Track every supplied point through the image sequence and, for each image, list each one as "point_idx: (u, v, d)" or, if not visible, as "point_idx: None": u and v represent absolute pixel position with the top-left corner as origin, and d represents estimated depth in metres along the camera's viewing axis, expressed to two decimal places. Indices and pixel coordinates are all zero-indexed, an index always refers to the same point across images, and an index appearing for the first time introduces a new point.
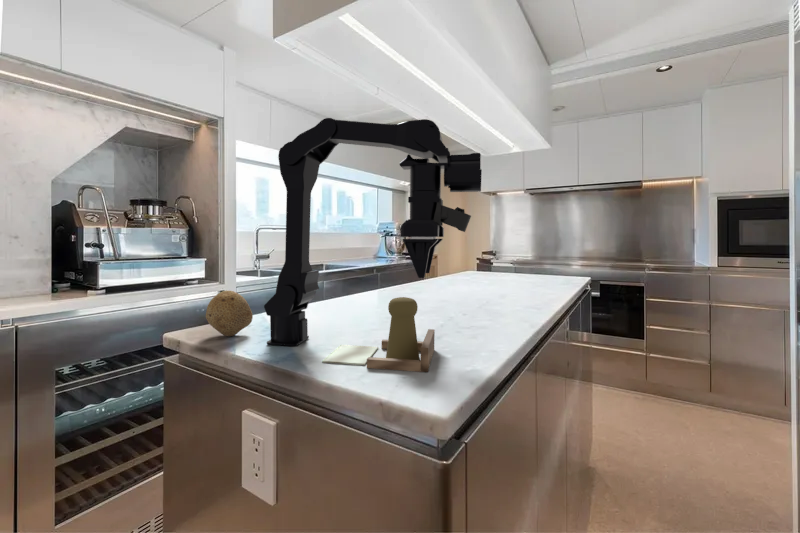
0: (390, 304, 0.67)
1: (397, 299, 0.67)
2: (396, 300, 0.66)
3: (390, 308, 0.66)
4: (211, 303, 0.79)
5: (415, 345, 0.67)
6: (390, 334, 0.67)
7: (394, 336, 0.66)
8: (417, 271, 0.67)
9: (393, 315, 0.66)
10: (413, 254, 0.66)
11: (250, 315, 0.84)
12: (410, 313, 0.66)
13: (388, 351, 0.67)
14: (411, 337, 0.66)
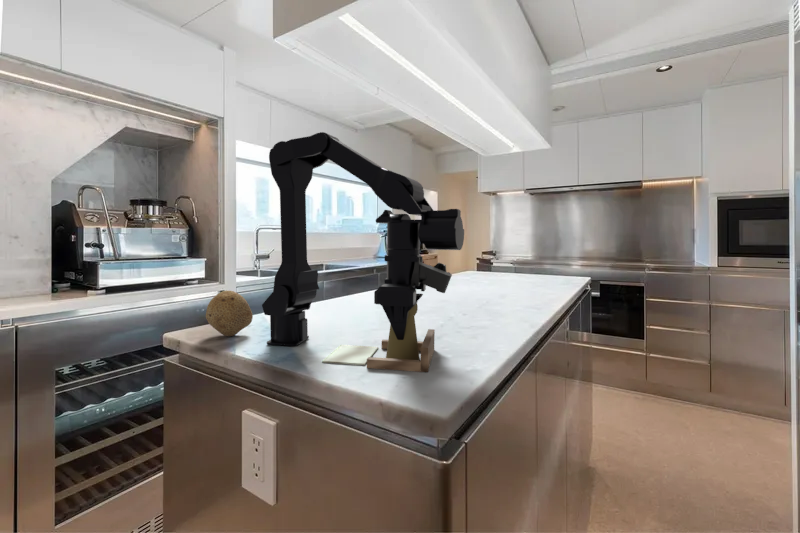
0: None
1: None
2: None
3: None
4: (211, 303, 0.79)
5: (415, 345, 0.67)
6: (390, 334, 0.67)
7: (394, 336, 0.66)
8: (396, 333, 0.65)
9: None
10: (391, 316, 0.64)
11: (250, 315, 0.84)
12: (410, 313, 0.66)
13: (388, 351, 0.67)
14: (411, 337, 0.66)
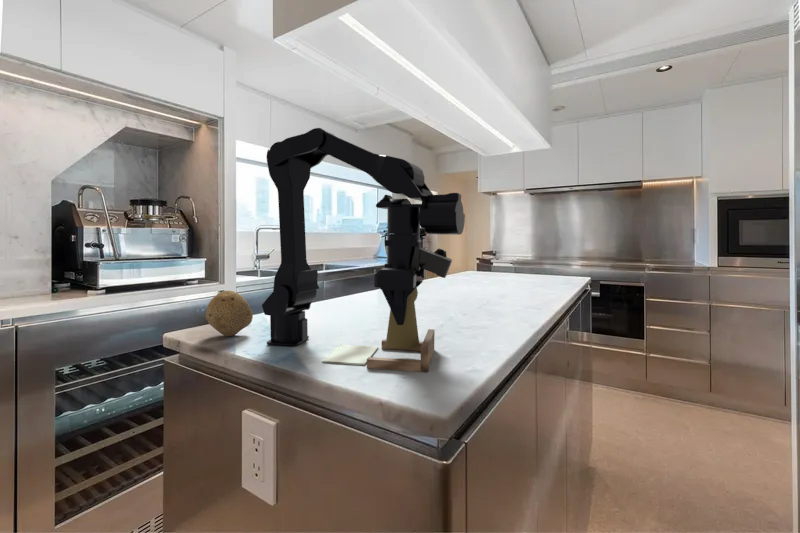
0: None
1: None
2: None
3: None
4: (211, 303, 0.79)
5: (415, 330, 0.67)
6: (390, 319, 0.67)
7: (394, 321, 0.66)
8: (396, 318, 0.65)
9: None
10: (391, 301, 0.64)
11: (250, 315, 0.84)
12: (410, 298, 0.65)
13: (388, 336, 0.67)
14: (411, 322, 0.66)
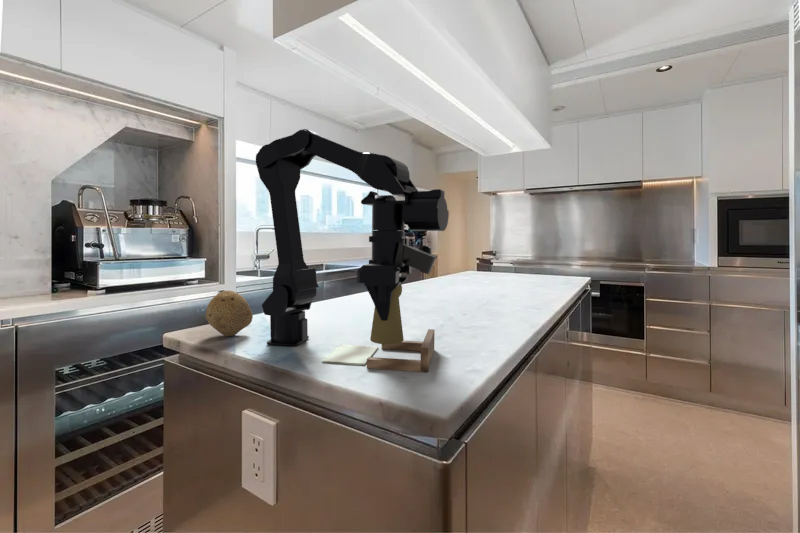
0: None
1: None
2: None
3: None
4: (211, 303, 0.79)
5: (399, 326, 0.67)
6: (374, 315, 0.67)
7: (378, 317, 0.66)
8: (380, 314, 0.66)
9: None
10: (375, 297, 0.65)
11: (250, 315, 0.83)
12: (394, 294, 0.66)
13: (372, 332, 0.67)
14: (395, 318, 0.66)
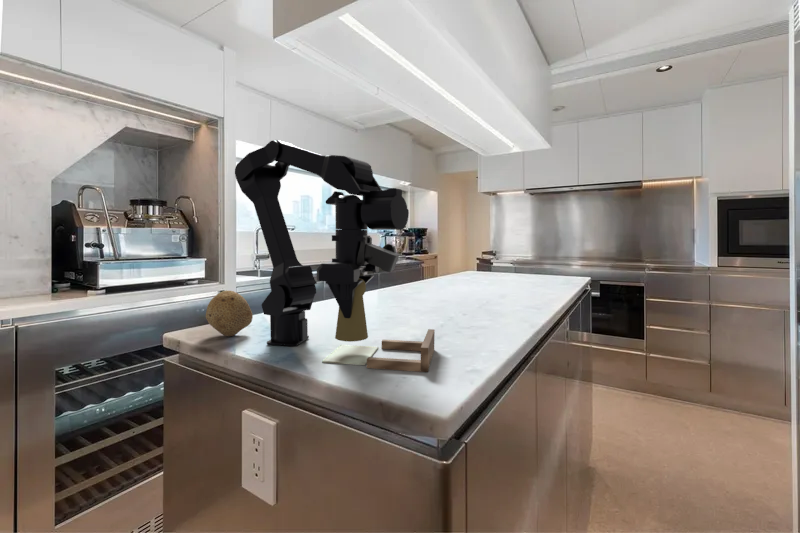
0: None
1: None
2: None
3: None
4: (211, 303, 0.79)
5: (363, 323, 0.68)
6: (338, 313, 0.68)
7: (342, 315, 0.67)
8: (343, 311, 0.67)
9: None
10: (338, 295, 0.66)
11: (250, 315, 0.83)
12: (357, 292, 0.67)
13: (336, 329, 0.68)
14: (358, 315, 0.68)
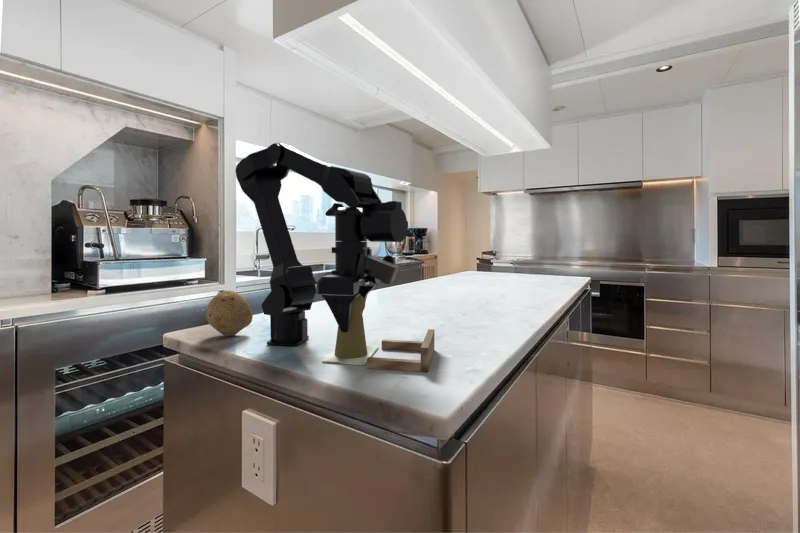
0: None
1: None
2: None
3: None
4: (211, 303, 0.79)
5: (362, 340, 0.68)
6: (338, 329, 0.69)
7: (341, 332, 0.68)
8: (340, 325, 0.65)
9: None
10: (334, 309, 0.64)
11: (250, 315, 0.83)
12: (356, 309, 0.67)
13: (336, 346, 0.69)
14: (358, 332, 0.68)
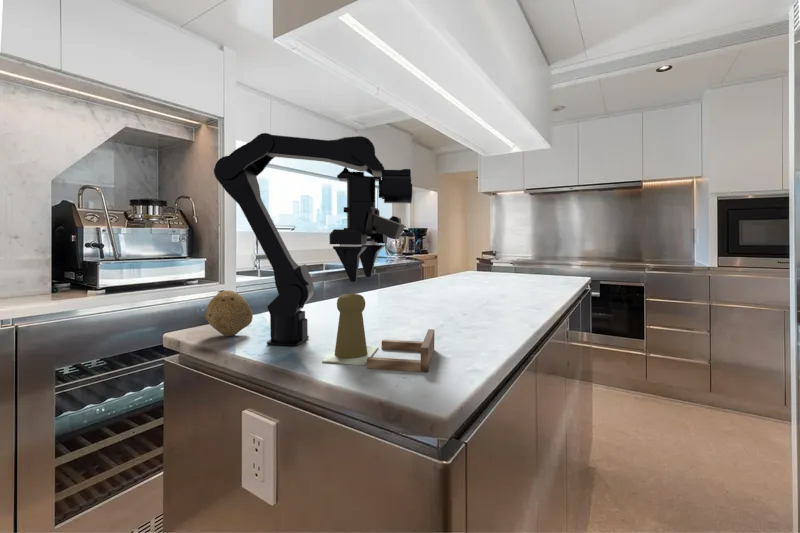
0: (338, 300, 0.68)
1: (345, 295, 0.68)
2: (343, 296, 0.68)
3: (338, 304, 0.68)
4: (211, 303, 0.79)
5: (362, 340, 0.68)
6: (338, 329, 0.69)
7: (341, 332, 0.68)
8: (349, 275, 0.73)
9: (340, 311, 0.68)
10: (344, 260, 0.72)
11: (250, 315, 0.83)
12: (356, 309, 0.67)
13: (336, 346, 0.69)
14: (358, 332, 0.68)
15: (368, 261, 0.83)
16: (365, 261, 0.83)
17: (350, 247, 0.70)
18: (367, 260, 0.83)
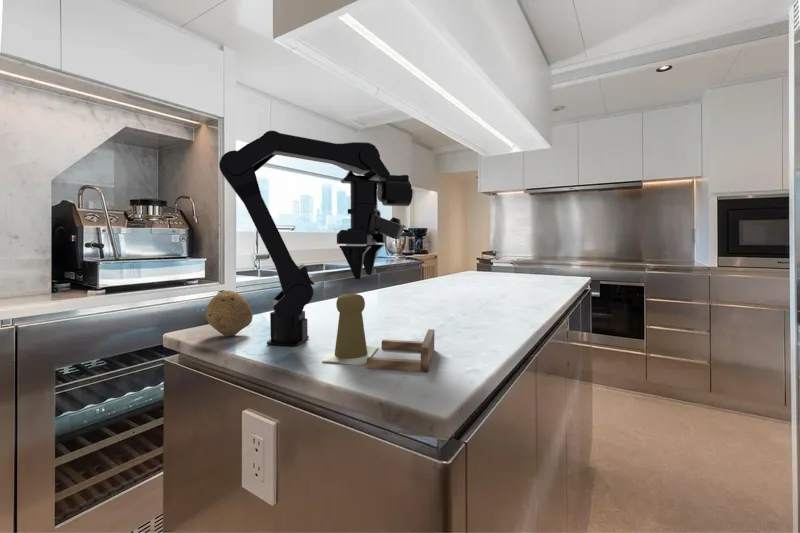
0: (337, 300, 0.68)
1: (344, 295, 0.68)
2: (343, 296, 0.68)
3: (337, 304, 0.68)
4: (211, 303, 0.79)
5: (362, 340, 0.68)
6: (338, 330, 0.69)
7: (341, 332, 0.68)
8: (354, 273, 0.78)
9: (340, 311, 0.68)
10: (349, 259, 0.77)
11: (250, 315, 0.83)
12: (356, 309, 0.67)
13: (336, 346, 0.69)
14: (357, 332, 0.68)
15: (369, 259, 0.87)
16: (366, 260, 0.87)
17: (356, 246, 0.74)
18: (368, 259, 0.87)
